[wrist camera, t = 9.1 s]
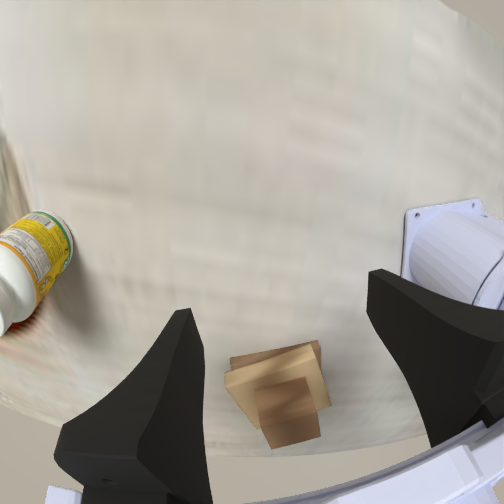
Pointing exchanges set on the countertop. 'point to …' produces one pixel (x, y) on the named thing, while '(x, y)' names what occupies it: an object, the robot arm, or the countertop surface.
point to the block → (287, 413)
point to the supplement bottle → (31, 263)
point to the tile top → (276, 379)
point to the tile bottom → (272, 355)
